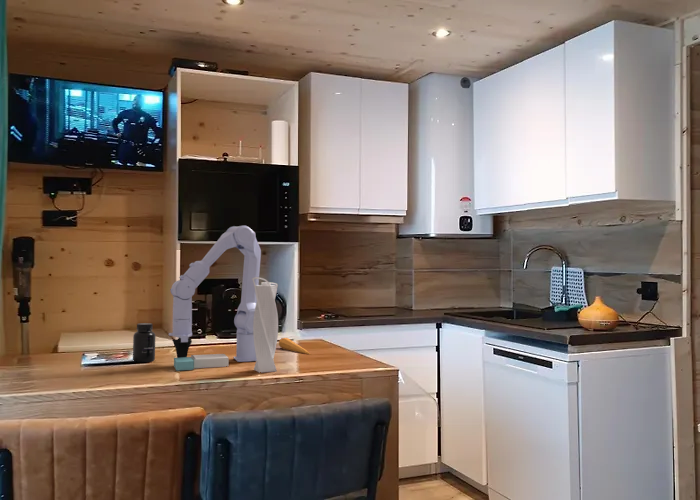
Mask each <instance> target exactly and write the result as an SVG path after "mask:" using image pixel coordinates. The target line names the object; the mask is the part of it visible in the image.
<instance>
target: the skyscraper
mask: <svg viewBox="0 0 700 500" xmlns="http://www.w3.org/2000/svg"><path fill="white" fill-rule="evenodd" d="M254 279H259V280H262V281H264V282H260V283H261V284H259V285H255V282H254ZM252 280H253V283H254V287H255V293H256V299H257V303H256V307H255V312H254V320H253V336H254V346H255V353H256V359H257V360H256V361H255V365H254V367H253V371H256V372H257V373H260V372H261V373H270V372H271V373H272V372H277V371H278V370H277V368H276V364H275V360H274V359H275V358H274V357H275V353H276V349H277V344H278V343H277V342H278V335H279V334H278V333H279V315H278V309H277V303H276V296H277V291H278V287H279V284H278V283H276V282H272V281H271V282H270V281H269V280H268V279H265V278H263V277H260V276H259V277H254V278H253V279H252Z"/></svg>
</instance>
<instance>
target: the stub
mask: <svg viewBox="0 0 700 500" xmlns="http://www.w3.org/2000/svg"><path fill="white" fill-rule="evenodd" d="M173 367H174V369H175V371H191V370H194V369H195V368H194V361H193V360H192V358H191V356H187V357H179V358H177V357H173Z"/></svg>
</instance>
